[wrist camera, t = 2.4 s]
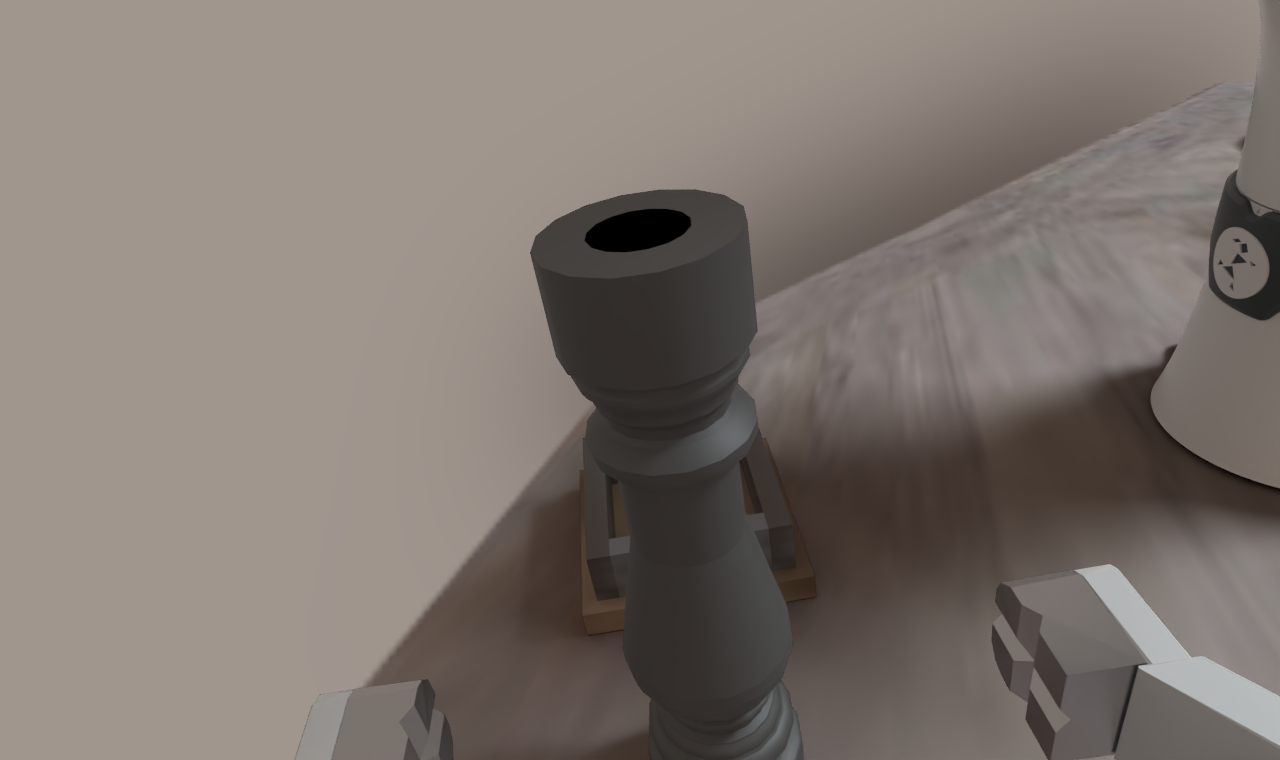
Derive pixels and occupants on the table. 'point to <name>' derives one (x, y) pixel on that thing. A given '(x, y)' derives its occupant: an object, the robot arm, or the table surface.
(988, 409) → the table surface
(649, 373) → the candle holder
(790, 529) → the socket base
